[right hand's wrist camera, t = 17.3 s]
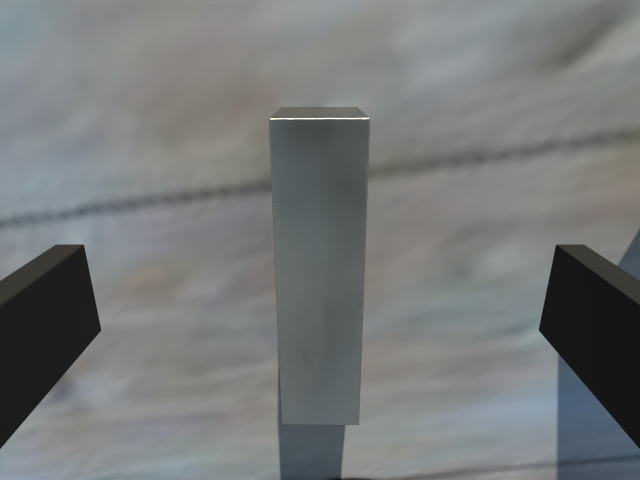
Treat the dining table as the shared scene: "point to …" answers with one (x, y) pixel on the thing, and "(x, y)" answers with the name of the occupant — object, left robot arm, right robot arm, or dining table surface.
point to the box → (319, 259)
